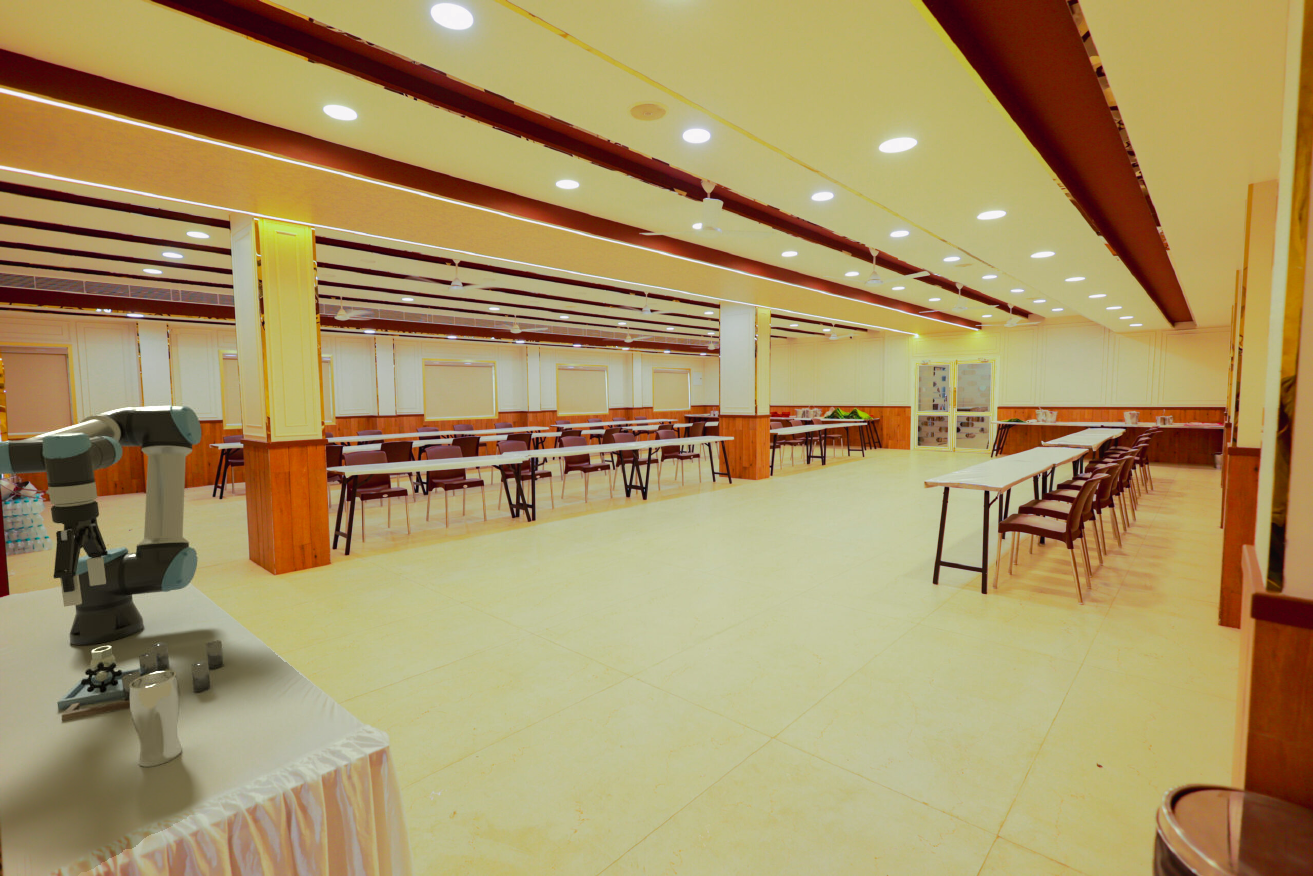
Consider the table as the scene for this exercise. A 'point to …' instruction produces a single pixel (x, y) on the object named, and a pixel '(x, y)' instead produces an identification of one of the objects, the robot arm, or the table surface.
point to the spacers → (160, 662)
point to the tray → (93, 692)
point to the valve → (101, 669)
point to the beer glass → (156, 716)
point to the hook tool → (93, 709)
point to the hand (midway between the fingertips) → (86, 594)
